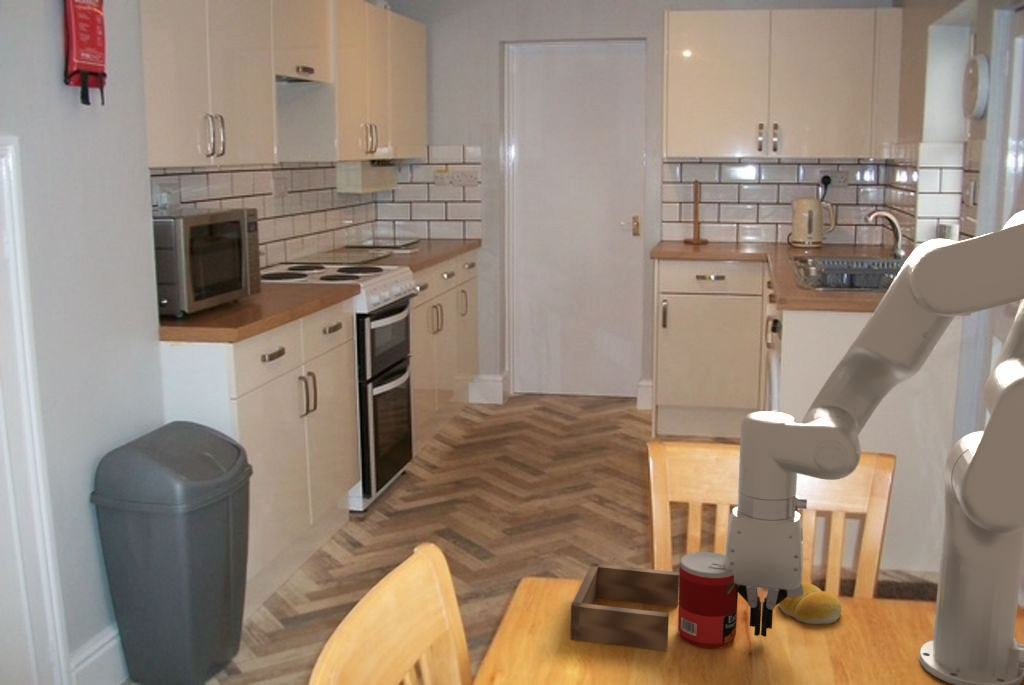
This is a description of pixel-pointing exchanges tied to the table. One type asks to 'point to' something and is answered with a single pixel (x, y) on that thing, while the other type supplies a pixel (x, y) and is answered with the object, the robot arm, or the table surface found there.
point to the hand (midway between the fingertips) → (760, 631)
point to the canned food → (707, 601)
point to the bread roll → (812, 606)
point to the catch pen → (624, 622)
